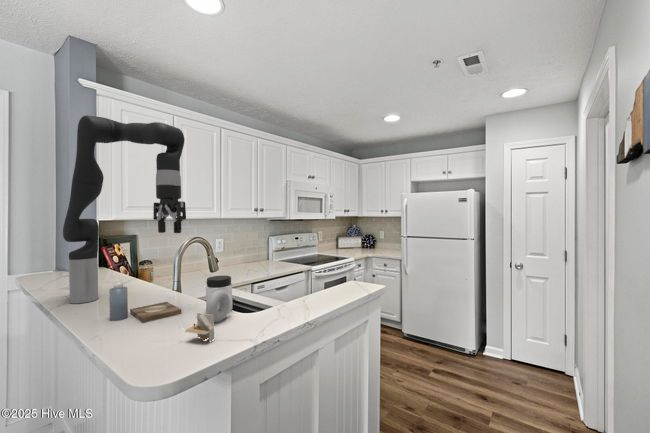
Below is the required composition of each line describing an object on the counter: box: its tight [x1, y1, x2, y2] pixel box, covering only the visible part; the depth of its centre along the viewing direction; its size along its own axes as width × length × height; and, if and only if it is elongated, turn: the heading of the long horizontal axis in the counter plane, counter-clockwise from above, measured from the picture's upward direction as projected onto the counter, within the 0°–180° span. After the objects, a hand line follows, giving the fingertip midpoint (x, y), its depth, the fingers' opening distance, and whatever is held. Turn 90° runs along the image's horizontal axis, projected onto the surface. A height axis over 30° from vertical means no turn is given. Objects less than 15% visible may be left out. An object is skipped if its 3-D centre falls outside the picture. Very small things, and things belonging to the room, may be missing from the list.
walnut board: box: [129, 301, 182, 323], centre depth 107 cm, size 14×12×2 cm
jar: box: [205, 275, 233, 314], centre depth 108 cm, size 9×8×12 cm
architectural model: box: [184, 312, 215, 341], centre depth 83 cm, size 3×7×7 cm, turn 70°
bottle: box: [108, 281, 129, 322], centre depth 102 cm, size 5×5×12 cm
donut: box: [205, 290, 230, 323], centre depth 98 cm, size 10×4×10 cm, turn 163°
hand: (169, 232), depth 103 cm, fingers open, 8 cm apart
